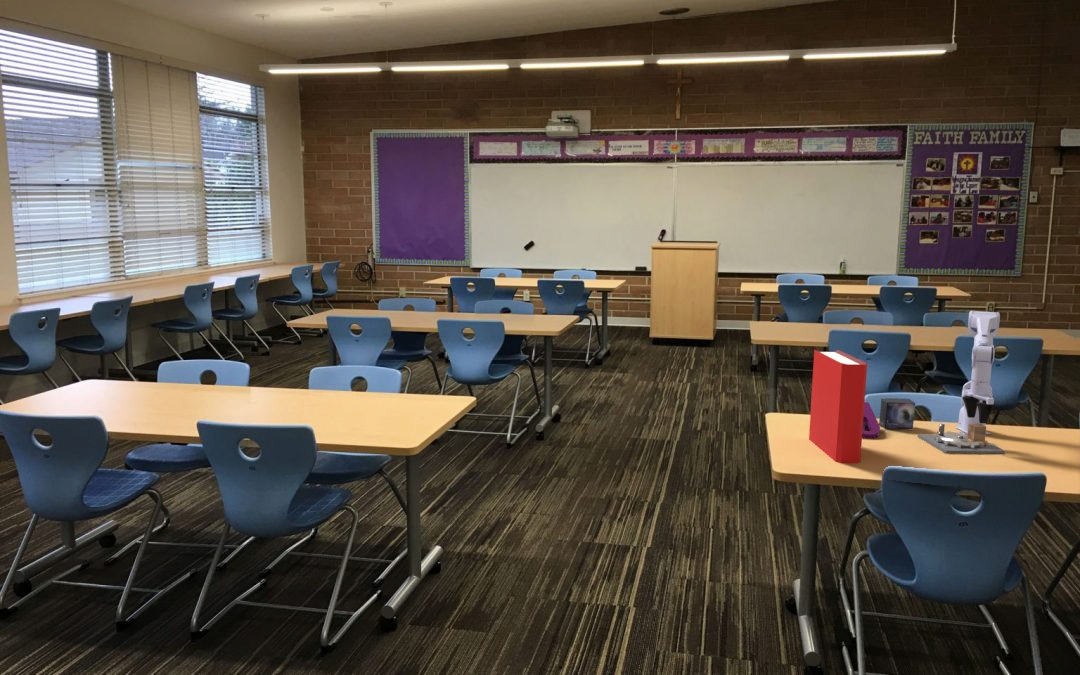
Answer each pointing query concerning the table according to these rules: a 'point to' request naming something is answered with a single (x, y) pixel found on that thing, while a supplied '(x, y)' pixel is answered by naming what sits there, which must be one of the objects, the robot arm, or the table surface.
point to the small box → (897, 413)
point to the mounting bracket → (870, 423)
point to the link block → (976, 432)
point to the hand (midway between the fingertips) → (976, 420)
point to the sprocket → (956, 439)
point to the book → (838, 405)
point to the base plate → (963, 450)
